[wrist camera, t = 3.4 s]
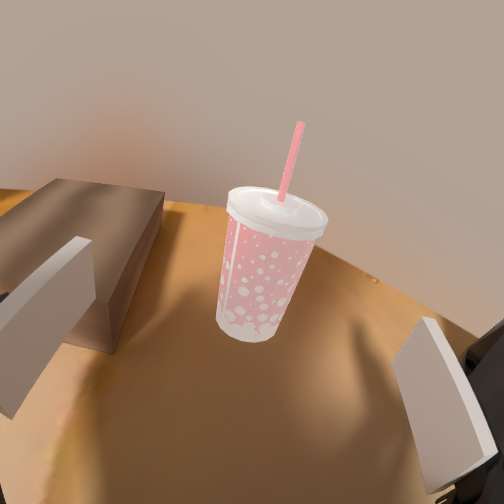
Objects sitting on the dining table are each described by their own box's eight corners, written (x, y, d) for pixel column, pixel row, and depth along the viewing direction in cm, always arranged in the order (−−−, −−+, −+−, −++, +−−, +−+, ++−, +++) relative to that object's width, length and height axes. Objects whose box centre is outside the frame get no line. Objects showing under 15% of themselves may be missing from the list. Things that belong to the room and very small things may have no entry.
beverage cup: (303, 334, 22) (374, 145, 15) (236, 362, 18) (304, 123, 11) (254, 288, 26) (300, 120, 19) (189, 303, 22) (225, 104, 15)
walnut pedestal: (160, 227, 31) (164, 192, 30) (113, 353, 16) (108, 303, 14) (56, 211, 29) (56, 178, 27) (-37, 308, 13) (-52, 261, 12)
